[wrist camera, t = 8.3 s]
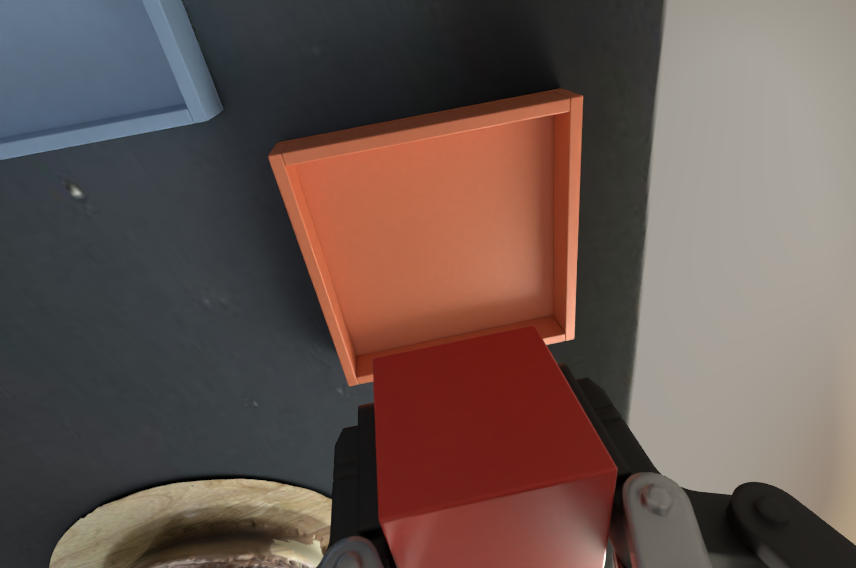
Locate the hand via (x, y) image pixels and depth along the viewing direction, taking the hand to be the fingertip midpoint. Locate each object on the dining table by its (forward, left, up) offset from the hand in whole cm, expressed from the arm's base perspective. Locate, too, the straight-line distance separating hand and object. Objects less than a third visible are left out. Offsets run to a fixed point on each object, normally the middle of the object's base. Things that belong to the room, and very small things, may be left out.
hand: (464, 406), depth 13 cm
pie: (+22, +31, -14) cm, 40 cm away
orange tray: (-1, +2, -14) cm, 14 cm away
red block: (0, 0, 0) cm, 0 cm away
